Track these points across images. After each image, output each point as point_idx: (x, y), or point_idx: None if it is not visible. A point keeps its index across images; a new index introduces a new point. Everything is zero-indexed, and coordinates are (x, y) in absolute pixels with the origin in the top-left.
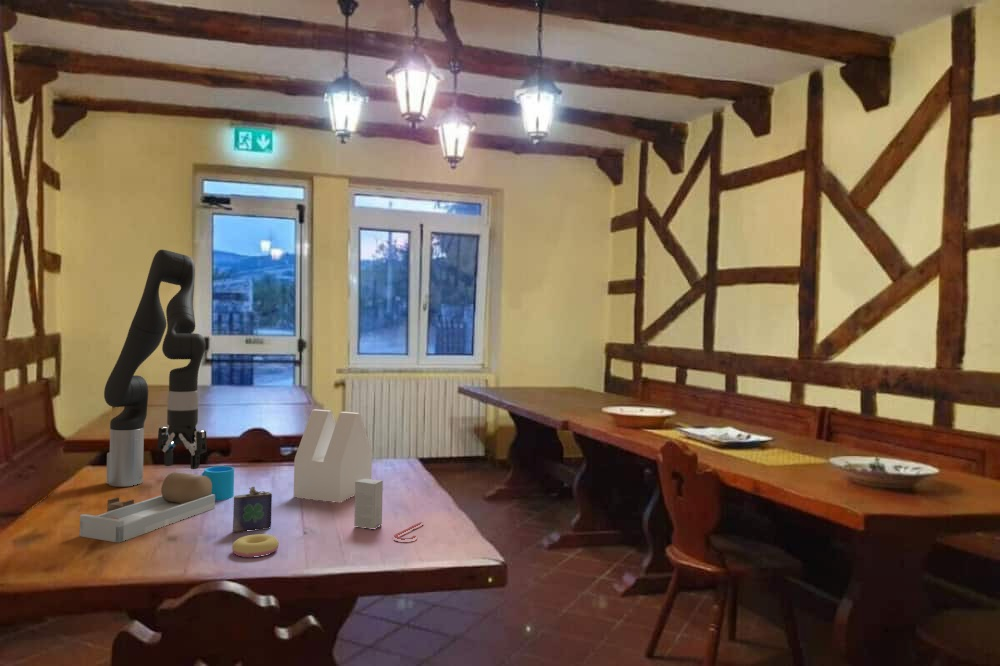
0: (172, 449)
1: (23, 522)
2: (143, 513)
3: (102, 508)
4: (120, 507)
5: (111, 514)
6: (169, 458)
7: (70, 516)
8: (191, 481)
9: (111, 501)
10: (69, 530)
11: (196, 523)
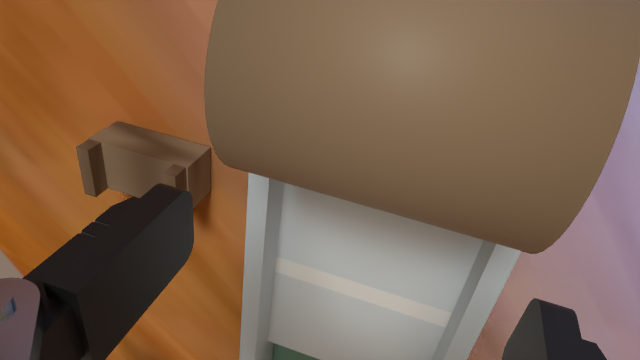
0: (41, 318)
1: None
2: (312, 255)
3: (56, 110)
4: None
5: (257, 355)
6: (144, 283)
7: (66, 217)
8: (498, 241)
9: (100, 184)
10: (190, 337)
11: (605, 275)
